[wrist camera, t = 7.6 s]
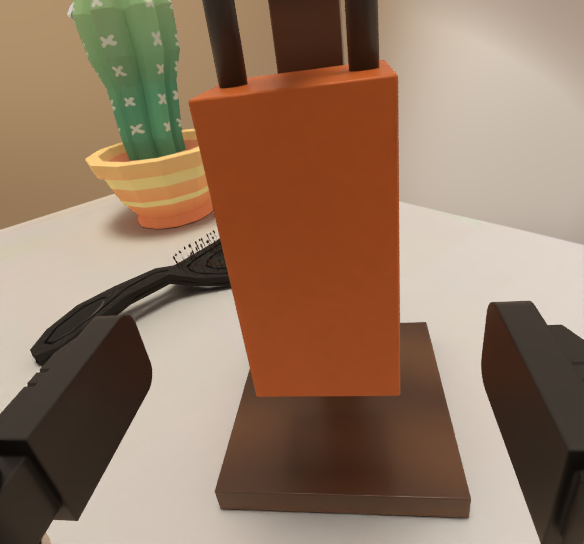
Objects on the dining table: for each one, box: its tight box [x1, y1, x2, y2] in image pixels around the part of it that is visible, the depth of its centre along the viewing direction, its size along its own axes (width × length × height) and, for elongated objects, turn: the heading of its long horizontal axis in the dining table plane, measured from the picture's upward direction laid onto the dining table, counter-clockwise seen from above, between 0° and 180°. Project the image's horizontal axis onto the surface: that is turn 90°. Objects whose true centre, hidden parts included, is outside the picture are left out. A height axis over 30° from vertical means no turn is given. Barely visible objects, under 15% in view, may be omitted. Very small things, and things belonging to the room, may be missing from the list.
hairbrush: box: [30, 231, 231, 365], centre depth 35 cm, size 8×4×25 cm
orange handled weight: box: [189, 0, 400, 397], centre depth 13 cm, size 4×5×15 cm
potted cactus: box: [67, 0, 213, 229], centre depth 45 cm, size 15×15×25 cm
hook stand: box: [215, 0, 471, 518], centre depth 15 cm, size 14×10×25 cm
